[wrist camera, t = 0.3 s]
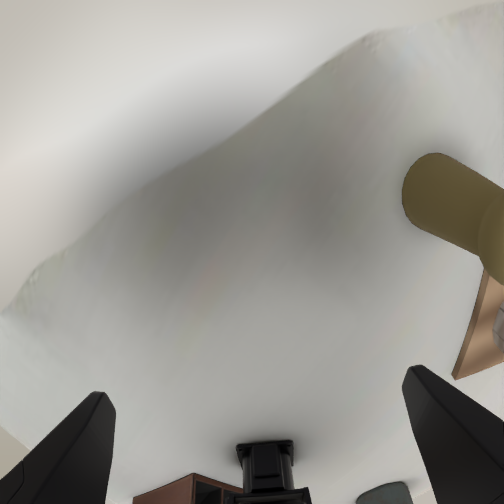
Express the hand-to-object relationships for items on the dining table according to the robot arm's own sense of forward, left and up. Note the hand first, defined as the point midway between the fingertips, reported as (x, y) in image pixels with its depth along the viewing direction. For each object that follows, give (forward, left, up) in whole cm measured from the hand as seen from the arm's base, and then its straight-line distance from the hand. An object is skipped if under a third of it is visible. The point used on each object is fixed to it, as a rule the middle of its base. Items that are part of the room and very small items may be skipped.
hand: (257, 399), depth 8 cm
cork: (+1, -14, -15) cm, 20 cm away
